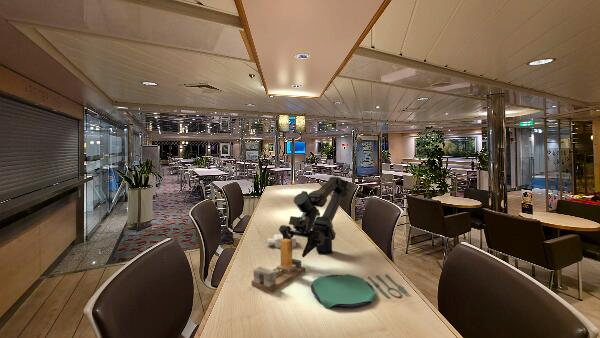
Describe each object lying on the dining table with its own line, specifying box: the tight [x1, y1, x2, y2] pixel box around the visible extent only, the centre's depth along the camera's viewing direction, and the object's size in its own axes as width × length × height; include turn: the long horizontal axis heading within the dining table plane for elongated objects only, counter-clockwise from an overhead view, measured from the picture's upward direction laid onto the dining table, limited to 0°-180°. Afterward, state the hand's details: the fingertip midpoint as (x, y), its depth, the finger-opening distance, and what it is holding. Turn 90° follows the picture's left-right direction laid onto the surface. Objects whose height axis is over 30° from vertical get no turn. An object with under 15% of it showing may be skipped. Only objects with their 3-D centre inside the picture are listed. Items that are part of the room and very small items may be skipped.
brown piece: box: [251, 258, 306, 293], centre depth 97 cm, size 19×9×6 cm, turn 146°
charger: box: [262, 233, 297, 249], centre depth 133 cm, size 5×9×15 cm
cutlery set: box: [310, 273, 412, 309], centre depth 87 cm, size 20×30×2 cm, turn 101°
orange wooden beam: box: [275, 238, 296, 276], centre depth 97 cm, size 11×5×11 cm, turn 145°
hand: (292, 254), depth 103 cm, fingers open, 9 cm apart
